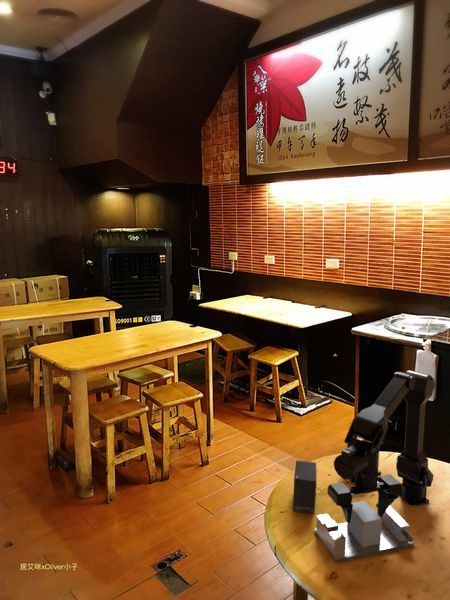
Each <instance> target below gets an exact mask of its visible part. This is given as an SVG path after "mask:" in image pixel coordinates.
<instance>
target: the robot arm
mask: <svg viewBox="0 0 450 600" xmlns="http://www.w3.org/2000/svg"><path fill="white" fill-rule="evenodd" d="M435 387H436V382H435V379H434V377H432V375H430V374H427V373H423V372H419V371H415V370H411V369H409V370H407V371H406V372H403V371H396V372H394V373H393V374H392V379H391V380H390V382H389V383H388V384H387V385H386V387H385V388H384V390H383V391H382V392H381V394H380V395H379V396H378V398H377V399H376V400H375V401H374V402H373V404H372V405H371V406H369V407H366V408H364V409H362V410H361V411H360V412H358V413H357V415H356V416H355V417H354V418H353V419H352V422H351V423H350V426H349V428H348V431H347V433H346V436H345V439H344V441H343V442H344V443H345V444H346V445H347V444H349V448H347V447H346V448H344V449H342V450H341V452H340V455H337V456H336V457H335V459H334V461H333V468H334V470H335V472H336V474H337V475H338V476H339V477H340V478H342V479H343V480H347V479H349V481H348V482H349V483H350V484H353V486H350V487H347V486H346V485H345V484H344V483H343V482H337V483H331V484H329V485H328V486H327V495H328V496H329V497H330V498H331V500H332V501H333V503H334V504H335V505H336V506H339V507H341V509H342V513H343V515H344V519H345V521H346V522H345V523H348V524H349V523H350V520H351V515H352V509H353V504H352V503H353V499H354V498H353V497H357V496H361V495H368V494H373V493H375V492H377V493H378V497H377V503H378V508H377V514H378V515H379V516H380V517H382V516H383V514H384V513H385V511H386V510H387V509H388V507H389V506H391V505H392V504H393V502H394V501H395V500H396V499H397V500H398V499H399V496H400V497H401V498H402V499H403V500H404V501H405V502H406V503H407V504H408V505H409V506H411V507H413V506H418V505H424V504H429V503H430V500H429V499H428V498H427V490H428V489H427V488H428V487H432V483H433V481H434V474H433V472H432V471H431V470H430V468H429V459H428V457H427V455H426V454H425V452H424V449H423V448H424V435H425V434H424V433H425V419H426V417H425V416H426V406H427V402H428V401H429V400H430V399H431V397H432V396H433V394H434V393H433V392H434V390H435ZM403 399H404V400H405V401H406V419H405V434H404V436H405V437H404V449H403V450H402V451H401V453H400V454H398V456H396V465H395V466H396V467H395V468H396V474H397V477H399V478H401V479H402V480H401V481H402V483H401V482H400V481H399V480H398V479H396V477H394V476H393V475H392V474H386V475H382V471H381V470H380V469H379V461H380V460H379V459H380V446H381V445H383V444H384V438H385V436H386V433H387V431H388V430H389V429H388V427H389V426H388V425H389V424H388V421H389V419H390V417H391V416H392V414H393V413H394V412H395V411H396V409H397V407H399V405H400V403H401V402H402V400H403ZM355 436H356V437H355ZM357 437H358V438H357ZM356 438H357V439H356ZM359 439H361V440H359Z"/></svg>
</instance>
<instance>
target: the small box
mask: <svg viewBox="0 0 450 600" xmlns="http://www.w3.org/2000/svg"><path fill="white" fill-rule="evenodd" d="M316 499H317V462H315V461H314V462H311V461H305V460H304V461H303V460H295V467H294V475H293V499H292V500H293V501H292V511H293V512H299V513H305V514H315V509H316V508H315V507H316Z"/></svg>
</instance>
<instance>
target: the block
mask: <svg viewBox="0 0 450 600" xmlns="http://www.w3.org/2000/svg"><path fill="white" fill-rule="evenodd" d="M351 503H352V504H353V509H352V515H351V520H350V523H349V524H348V523H347V522H346V523H347V528H348V529H349V531H350V532H351V533H352V534H353V536H354V537H355V538H356V539H357V541H358V542H359V543H360V544H361V546H362V547H366V546H371V545H376V544H380V542H381V524H382V519H381V517H380V516H379V515H378V512H376V511H375V510H374V509H373V507H371V505H370V504H369V503H368V502H367V501H365V500H362V501H355V502H351Z"/></svg>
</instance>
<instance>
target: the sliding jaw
mask: <svg viewBox="0 0 450 600" xmlns="http://www.w3.org/2000/svg"><path fill="white" fill-rule="evenodd" d="M375 508H376V509H378V502H377V503H376V504H375ZM381 519H382V524H383V525H384V526H385V527H386V528H387V529H388V530H389V531H390V532H391V533H392V534H393V535H394V537H395V538H396V539H397V540H398V541H399V542H405V541H409V542H411V541H413V540H414V538H413V537H412V536H411V535H410V527H411V526H410V524H409V523H408V522H407V521H406V520H405V519H404V518H403V517H402V516H401V515H400V514H399V513H398V512H397V511H396V510H395V509H394V508H393V507H392V506H391V505H390V506H389V507H388V509H387V510H386V511H385V513H384V514H383V516H382V517H381Z"/></svg>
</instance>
